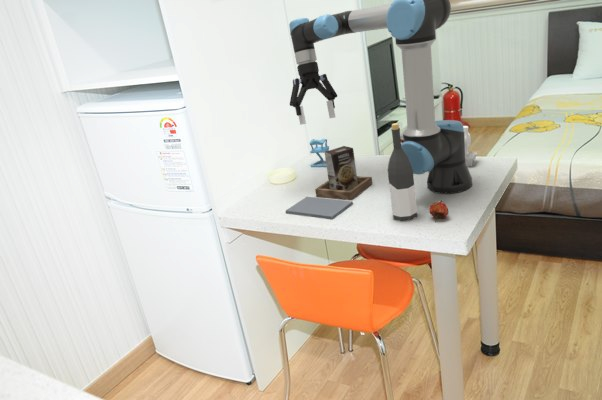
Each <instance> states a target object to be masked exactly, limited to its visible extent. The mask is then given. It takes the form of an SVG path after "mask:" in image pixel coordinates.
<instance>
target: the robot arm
mask: <svg viewBox="0 0 602 400" xmlns="http://www.w3.org/2000/svg"><path fill="white" fill-rule="evenodd" d="M451 11H452V8H451V1H450V0H394V1H393V2H392V3H386V4H382V5H375V6H371V7H365V8H360V9H354V10H347V11H344V12H339V13H335V14H328V13H327V14H325V15H320V16H318V17H316V18H314V19H311V20H310V19H309V18H307V17H301V18H296V19H293V20H291V21H290V22H289V33H290V34H289V35H290V38H291V39H290V40H291V42H292V46H293V51H294V57H295V63H296V65H297V68H296V69H297V74H298V76H299V78H297V77H296V78H293V79H292V91H291V95H290V100H289V106H290V107H293V108H295V109H294V110H295V113H296V116H297V117H298V120H299V125H306V124H307V121H306V116H305V111H304V107H303V105H302V102H303V100H304V97H305V96H306V94H307V92H308V90H313V89H316V90H318V91H319V93H321V95H323V96H324V98H325V99H326V100H327V101H326V105H327V112H328V116H329V119H334V118H336V113H335V108H336V106H335V101H334V100H335V99H336V98H338V94H337V92H336V91H335V89H334V87H333V86H332V84H331V82H330V81H329V80H328V77H327V74H326V73H323V74H319V70H320V69H319V64H318V62H317V54H316V50H315V44H316V43H318V42H322V41H324V40H328V39H332V38H336V37H339V36H343V35H349V34H356V33H361V32H370V31H378V30H384V29H385V30H386V29H387V32H388V33H390V35H391V36H392V37H393V38H395V39H394V40H395V45H396V46H397V47H398V48H399V49H400V50H401V62H402V73H403V85H404V86H403V87H404V100H405V112H406V125H407V126H406V128H405V129H404V130H403V131H402V134H403V140H404V143H401V148H402V149H403V151H404V152H405V154H406V155H407V157H408V159H409V161H410V163H411V166H412V169H413V175H424V174H425V173H428V175H427V179H426V187H427V189H428V191H431V192H433V193H436V194H437V193H438V194H455V193H456V194H457V193H460V192H461V193H462V192H464V191H466V190H469V189H470V188H471V187H472V186H473V177H472V175H471V173H470V170H469V167H468V166H467V165H466V161H465V142H464V129H463V126H464V124H463V122H462V121H459V120H453V119H443V120H442V119H441V120H436V115H435V99H434V97H435V96H434V79H433V78H434V77H433V61H432V59H433V58H432V46H433V44H434V43H435V41H436V39H437V35H436V33H437V32H436V30H437V29H440V28H441V27H442V26H444V25H445V24H446V23H447V21H448V19H449V18H450V15H451ZM300 85H301V87H300Z"/></svg>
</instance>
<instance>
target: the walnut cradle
mask: <svg viewBox="0 0 602 400" xmlns="http://www.w3.org/2000/svg"><path fill="white" fill-rule="evenodd" d="M357 181H358V185H357V186H356V187H354V188H353V189H351V190H350V191H343V190H332V189H330V186H329V180H327V181H325V182H324V183H323V184H321V185H319V186H317V188H315V189H314V190H315V198H325V199H334V200H344V201H353V200H354V199H355V198H357V197H358V196H359V195H361V194H362V193H363V192H365V191H366V190H367V189H369V188H370V187H371V186H373V178H372V176H364V175H363V176H358V175H357Z"/></svg>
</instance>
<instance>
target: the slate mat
mask: <svg viewBox="0 0 602 400" xmlns="http://www.w3.org/2000/svg"><path fill="white" fill-rule="evenodd" d="M352 205H354V202H353V200H343V199H334V198H324V197H316V196H315V197H314V196H313V197H312V196H305V197H304V198H302V199H301V200H300V201H298V202H296V203H295V204H294V205H292V206H290V207H288V208H287V209H286V210H285V213H286V214H289V215H296V216H303V217H312V218H319V219H327V220H335V218H337V217H338V216H339V215H341V214H342V213H343V212H344V211H346V210H348V208H349V207H351V206H352Z"/></svg>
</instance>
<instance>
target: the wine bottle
mask: <svg viewBox="0 0 602 400" xmlns="http://www.w3.org/2000/svg"><path fill="white" fill-rule="evenodd" d="M399 124H400V123H397V122H396V123H392V124H391V136H392V145H393V149H392V152H391V154H390V157H389V160H388V163H387V176H388V186H389V194H390V204H391V205H390V206H391V211H392V219H393V220H395V221H398V222H407V221H413V220H414V219H416V218H417V217H418V208H417V199H416V197H417V196H416V190H415V189H416V188H415V187H416V186H415V178H414V174H413V169H412V166H411V163H410V161H409V159H408V157H407V155H406V154H405V152H404V151H403V149H402V148H401V144H402V143H401V138H400V135H401V129H400V125H399Z"/></svg>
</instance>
